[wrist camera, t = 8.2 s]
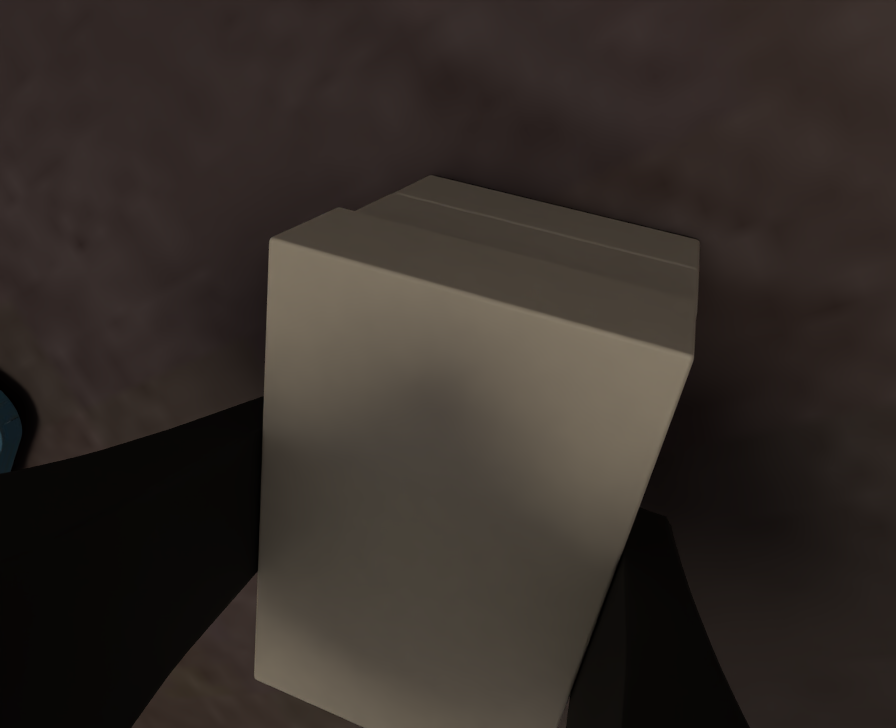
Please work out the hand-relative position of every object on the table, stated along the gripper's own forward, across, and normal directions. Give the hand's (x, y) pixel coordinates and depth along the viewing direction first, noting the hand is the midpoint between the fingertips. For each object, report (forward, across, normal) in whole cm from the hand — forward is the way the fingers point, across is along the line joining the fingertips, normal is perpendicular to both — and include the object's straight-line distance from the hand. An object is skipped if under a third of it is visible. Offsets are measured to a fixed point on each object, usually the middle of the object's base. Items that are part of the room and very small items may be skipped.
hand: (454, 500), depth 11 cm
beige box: (0, 0, 0) cm, 0 cm away
